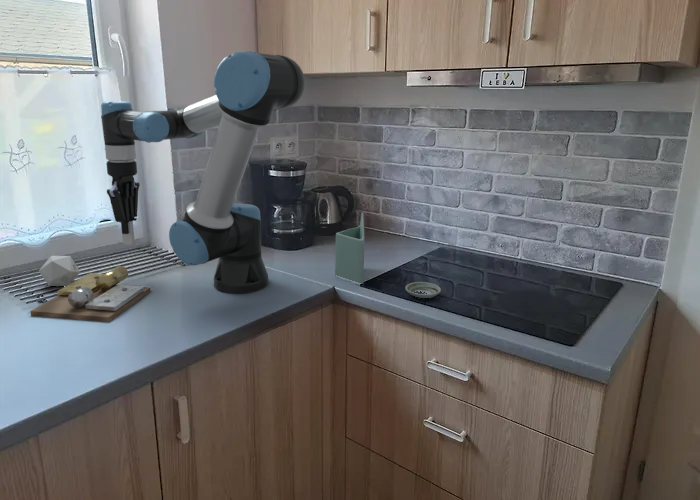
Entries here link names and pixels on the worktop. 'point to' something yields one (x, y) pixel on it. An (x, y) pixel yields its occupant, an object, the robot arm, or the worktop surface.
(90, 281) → the loose leaf
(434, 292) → the saucer
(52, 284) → the die
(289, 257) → the worktop surface
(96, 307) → the fixed leaf
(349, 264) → the planter
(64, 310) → the mount board
